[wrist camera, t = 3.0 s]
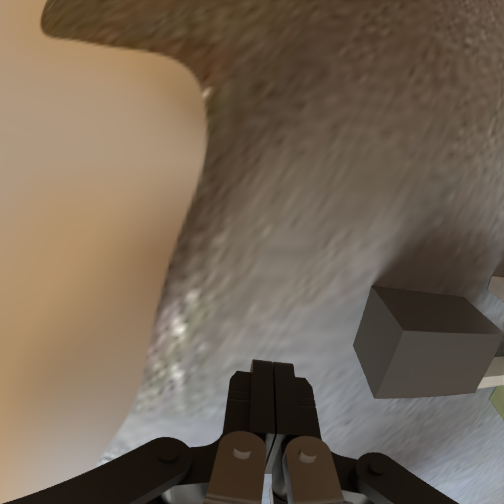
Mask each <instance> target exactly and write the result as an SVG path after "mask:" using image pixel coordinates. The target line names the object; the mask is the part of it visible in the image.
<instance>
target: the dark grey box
mask: <svg viewBox="0 0 504 504" xmlns="http://www.w3.org/2000/svg"><path fill="white" fill-rule="evenodd" d="M503 337H504V333H503V332H502V331H501V330H500V329H499V328H498V327H496V326H495V325H494V324H493V323H492V322H491V321H490V320H489V319H488V318H487V317H485V316H484V315H483V314H482V313H481V312H480V311H479V310H478V309H476V308H475V307H474V306H473V305H472V304H471V303H470V302H468V301H467V300H466V299H465V298H464V297H458V296H449V295H440V294H432V293H424V292H415V291H407V290H399V289H391V288H383V287H375V286H371V290H370V293H369V296H368V300H367V303H366V306H365V310H364V313H363V316H362V319H361V322H360V326H359V329H358V332H357V335H356V338H355V341H354V344H353V347H354V349H355V352H356V354H357V356H358V359H359V361H360V364H361V366H362V369H363V371H364V374H365V376H366V379H367V381H368V384H369V386H370V389H371V392H372V394H373V397H374V399H388V398H418V397H434V396H447V395H458V394H468V393H475V391H476V389H477V388H478V386H479V384H480V382H481V381H482V379H483V377H484V375H485V373H486V371H487V370H488V368H489V366H490V364H491V362H492V360H493V358H494V356H495V354H496V352H497V350H498V348H499V346H500V344H501V341H502V339H503Z"/></svg>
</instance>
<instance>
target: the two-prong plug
mask: <svg viewBox="0 0 504 504" xmlns="http://www.w3.org/2000/svg"><path fill="white" fill-rule="evenodd" d="M487 290H489V291H490V292H491V293H493V294H494V295H495V296H496V297H498V298H499V299H500V300H502V301H503V302H504V278H503V277H497V276H492V277H491V280H490V283H489V286H488V289H487ZM493 386H497V387H496V389H495V390H494V392H493V394H492V395H491V397H490V399H489V400H490V401H491V403H492V404H493V405H494V407H495V408H496V410H497V411H498V412H499V414H500V415H501V417H502V418H503V420H504V357H494V358H493V360H492V362H491V364H490V366H489V368H488V370H487V371H486V373H485V375H484V377H483V379H482V381H481V382H480V384H479V386H478V388H486V387H493Z"/></svg>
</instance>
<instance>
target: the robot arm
mask: <svg viewBox="0 0 504 504" xmlns="http://www.w3.org/2000/svg"><path fill="white" fill-rule="evenodd" d="M315 406H316V405H315V400H314V394H313V389H312V386H311V385H310V384H309V382H308V381H307V380H306V378H299V377H295V374H294V366H293V364H291V363H281V362H273V363H272V362H271V361H262V360H254V359H253V360H252V364H251V370H250V372H243V371H236V373H235V374H234V375H233V376H232V377H231V379H230V383H229V391H228V398H227V405H226V412H225V420H224V427H223V433H222V435H221V436H220V438H219V439H218V440H217V441H215V442H214V443H212V444H210V445H206V446H201V447H188V446H187V445H186V444H185V443H184V442H182V441H180V440H178V439H175V438H171V437H161V438H156V439H154V440H151V441H150V442H148V443H146V444H144V445H142V446H140V447H138V448H136V449H134V450H132V451H130V452H128V453H126V454H124V455H122V456H120V457H118V458H116V459H114V460H112V461H110V462H108V463H105V464H103V465H101V466H99V467H97V468H95V469H93V470H90V471H88V472H86V473H83V474H81V475H79V476H76V477H74V478H72V479H69V480H67V481H64V482H62V483H60V484H57V485H54V486H52V487H49V488H47V489H44V490H41V491H39V492H36V493H33V494H31V495H28V496H25V497H22V498H19V499H16V500H13V501H10V502H6V503H3V504H261V503H262V493H263V484H264V474H265V473H266V474H272V484H271V486H270V489H269V498H270V504H459V503H457V502H456V501H454V500H452V499H451V498H449V497H447V496H446V495H444V494H443V493H441V492H440V491H438V490H437V489H435V488H433V487H432V486H430V485H429V484H427V483H426V482H424V481H423V480H421V479H420V478H418V477H417V476H415V475H414V474H412V473H411V472H410V471H408V470H407V469H405V468H404V467H402V466H401V465H399V464H398V463H397V462H395V461H394V460H392V459H391V458H390V457H388V456H386V455H384V454H381V453H377V452H372V453H367V454H364V455H362V456H361V457H360V458H359V459H358V460H356V459H352V458H348V457H344V456H340V455H337V454H335V453H333V452H331V451H330V449H329V447H328V446H327V444H326V443H324V442H323V441H322V439H321V434H320V428H319V422H318V417H317V411H316V408H315Z"/></svg>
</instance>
